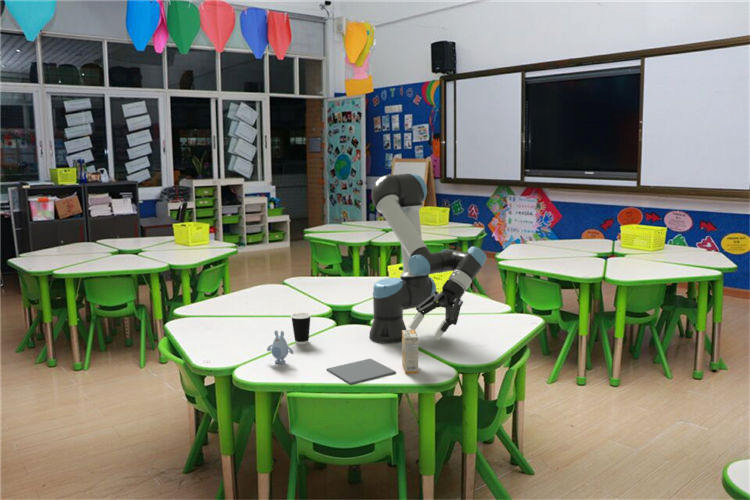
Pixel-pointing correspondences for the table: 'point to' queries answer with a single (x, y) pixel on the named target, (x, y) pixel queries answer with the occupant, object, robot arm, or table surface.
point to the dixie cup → (301, 327)
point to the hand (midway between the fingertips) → (423, 333)
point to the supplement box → (410, 351)
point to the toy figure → (279, 348)
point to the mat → (360, 371)
